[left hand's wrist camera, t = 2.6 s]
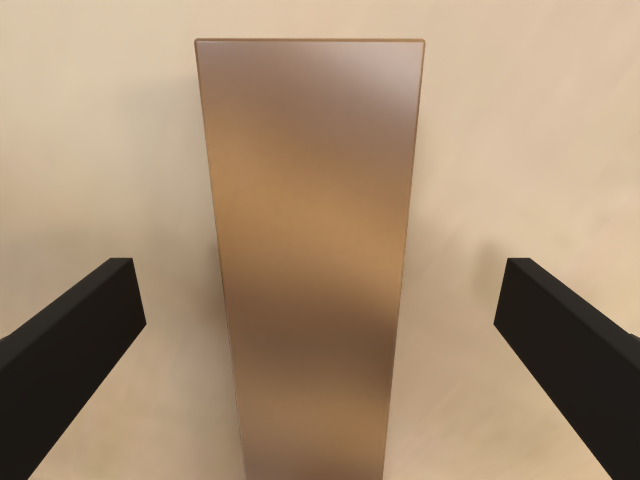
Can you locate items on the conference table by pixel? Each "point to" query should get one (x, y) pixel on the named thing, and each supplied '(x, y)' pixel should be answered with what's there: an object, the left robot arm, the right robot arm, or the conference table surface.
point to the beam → (311, 240)
